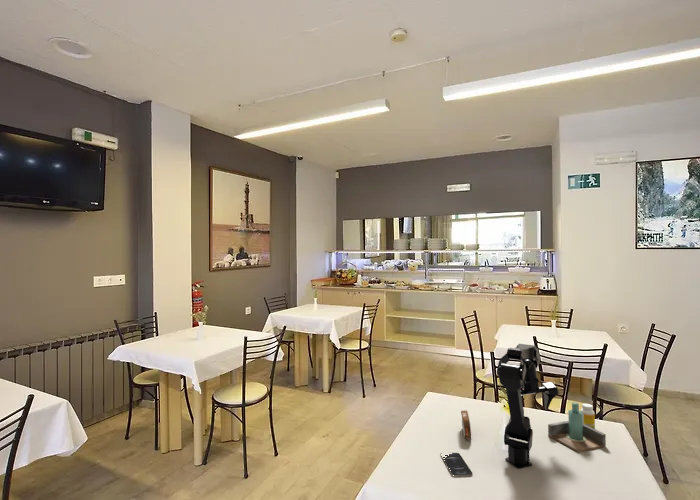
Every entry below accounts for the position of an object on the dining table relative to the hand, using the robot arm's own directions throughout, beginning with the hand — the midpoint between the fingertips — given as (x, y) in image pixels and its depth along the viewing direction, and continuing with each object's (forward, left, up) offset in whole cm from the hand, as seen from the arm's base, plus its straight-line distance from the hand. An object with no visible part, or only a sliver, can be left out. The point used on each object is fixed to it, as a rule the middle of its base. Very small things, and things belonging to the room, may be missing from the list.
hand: (534, 411), depth 156 cm
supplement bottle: (+30, +2, -12) cm, 32 cm away
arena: (+15, -6, -12) cm, 20 cm away
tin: (-23, +13, -12) cm, 29 cm away
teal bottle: (+16, -5, -11) cm, 20 cm away
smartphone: (-40, -6, -12) cm, 42 cm away
